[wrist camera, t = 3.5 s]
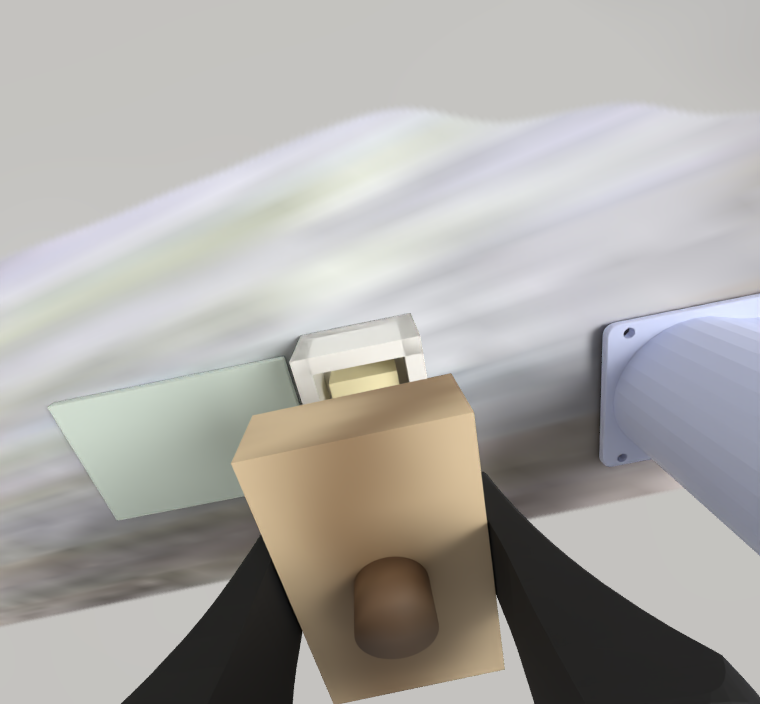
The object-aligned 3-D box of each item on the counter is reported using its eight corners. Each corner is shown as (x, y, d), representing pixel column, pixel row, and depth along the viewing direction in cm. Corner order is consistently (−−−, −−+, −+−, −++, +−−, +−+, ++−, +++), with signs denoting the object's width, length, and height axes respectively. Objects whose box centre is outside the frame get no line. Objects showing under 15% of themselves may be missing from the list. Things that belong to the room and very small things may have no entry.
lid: (450, 373, 10) (493, 444, 7) (483, 605, 14) (520, 718, 11) (252, 415, 10) (212, 504, 7) (336, 636, 14) (332, 757, 11)
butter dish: (410, 313, 17) (420, 335, 14) (436, 466, 20) (449, 509, 17) (300, 335, 17) (289, 362, 14) (344, 484, 20) (342, 529, 18)
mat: (284, 355, 17) (282, 359, 17) (322, 476, 20) (321, 481, 20) (53, 402, 18) (47, 407, 17) (121, 515, 20) (117, 520, 20)
